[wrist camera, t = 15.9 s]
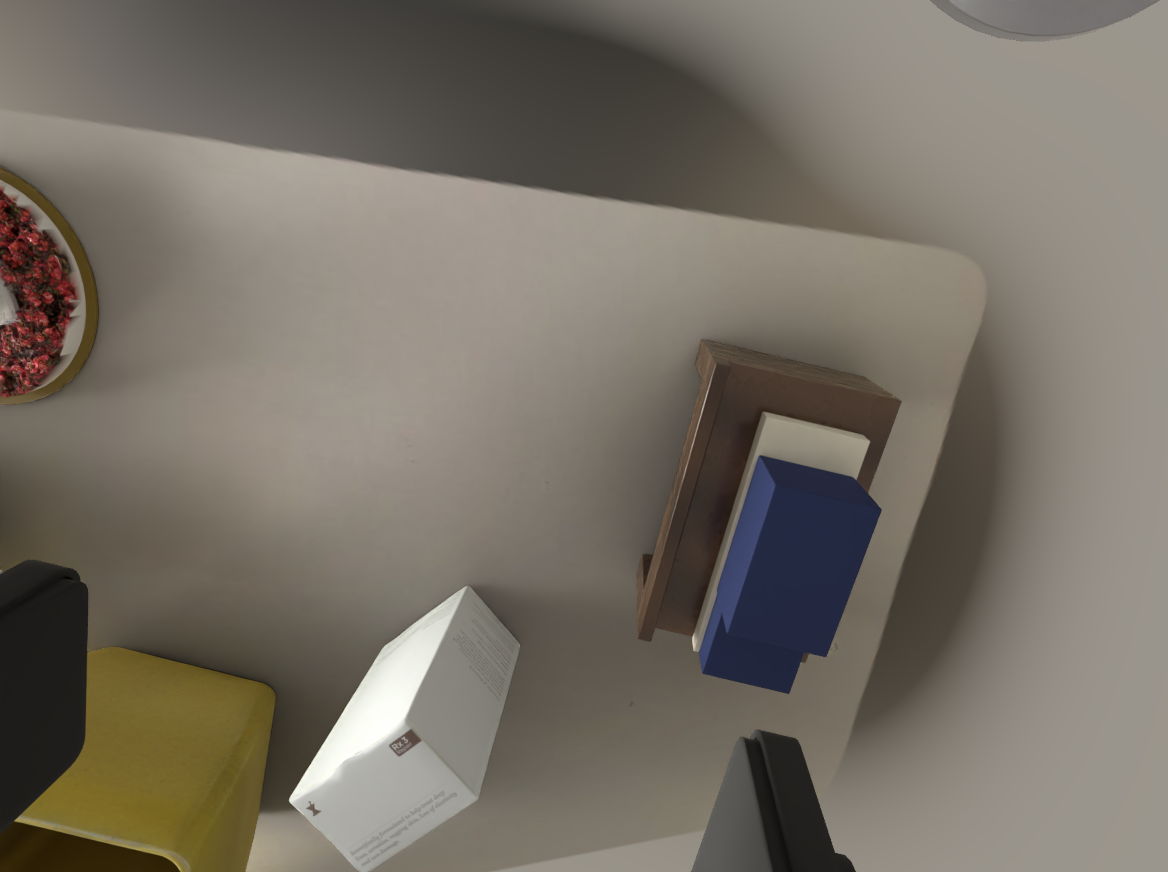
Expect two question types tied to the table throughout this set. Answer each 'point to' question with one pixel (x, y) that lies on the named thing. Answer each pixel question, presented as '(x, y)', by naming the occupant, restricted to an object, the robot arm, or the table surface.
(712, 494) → the shelf
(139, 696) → the flower pot
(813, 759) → the table surface
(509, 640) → the cosmetic box
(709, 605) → the navy stepped block
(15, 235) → the figurine
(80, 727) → the robot arm
